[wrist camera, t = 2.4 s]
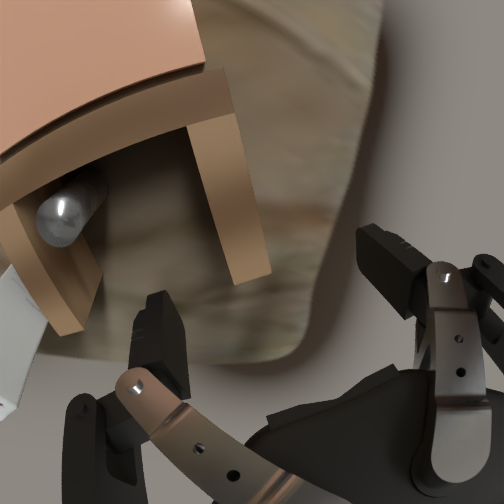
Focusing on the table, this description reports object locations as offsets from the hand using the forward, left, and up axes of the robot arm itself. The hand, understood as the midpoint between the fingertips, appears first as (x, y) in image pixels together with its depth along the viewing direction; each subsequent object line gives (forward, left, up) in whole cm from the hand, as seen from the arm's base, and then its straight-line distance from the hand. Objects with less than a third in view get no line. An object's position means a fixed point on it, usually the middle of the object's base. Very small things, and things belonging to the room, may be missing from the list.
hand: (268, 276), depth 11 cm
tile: (-7, +16, -9) cm, 20 cm away
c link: (-6, +3, -9) cm, 11 cm away
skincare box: (-16, 0, -9) cm, 19 cm away
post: (-8, +4, -9) cm, 13 cm away
